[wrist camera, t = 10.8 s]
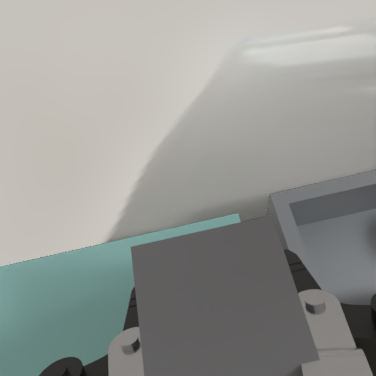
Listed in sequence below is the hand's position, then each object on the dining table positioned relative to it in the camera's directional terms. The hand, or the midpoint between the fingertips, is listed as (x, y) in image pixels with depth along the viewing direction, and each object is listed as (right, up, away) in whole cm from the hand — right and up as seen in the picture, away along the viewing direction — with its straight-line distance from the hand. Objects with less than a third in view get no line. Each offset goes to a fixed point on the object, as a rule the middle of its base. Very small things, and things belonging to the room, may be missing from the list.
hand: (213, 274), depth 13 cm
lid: (-5, -6, +4) cm, 8 cm away
